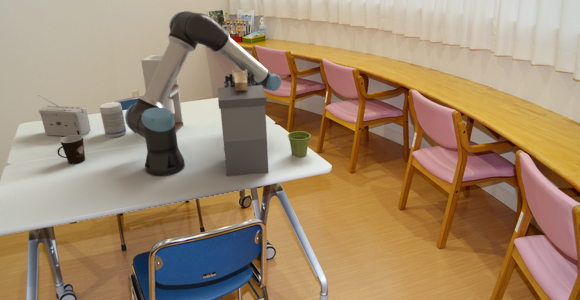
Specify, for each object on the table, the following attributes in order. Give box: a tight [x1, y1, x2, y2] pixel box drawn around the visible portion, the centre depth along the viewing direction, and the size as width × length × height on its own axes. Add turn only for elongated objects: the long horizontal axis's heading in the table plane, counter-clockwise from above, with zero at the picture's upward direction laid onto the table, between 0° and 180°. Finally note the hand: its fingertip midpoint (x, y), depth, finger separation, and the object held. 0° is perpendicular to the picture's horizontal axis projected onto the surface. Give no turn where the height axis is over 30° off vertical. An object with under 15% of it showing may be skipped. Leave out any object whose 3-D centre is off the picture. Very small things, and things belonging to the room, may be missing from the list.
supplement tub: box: [99, 101, 127, 138], centre depth 212 cm, size 10×10×15 cm
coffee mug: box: [57, 135, 86, 165], centre depth 185 cm, size 12×9×10 cm
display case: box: [140, 54, 184, 133], centre depth 213 cm, size 11×11×35 cm
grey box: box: [217, 85, 270, 177], centre depth 173 cm, size 17×17×30 cm
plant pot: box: [287, 131, 311, 158], centre depth 186 cm, size 9×9×9 cm
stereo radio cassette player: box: [37, 95, 91, 137], centre depth 213 cm, size 21×8×20 cm, turn 77°
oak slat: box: [234, 70, 248, 91], centre depth 175 cm, size 4×20×3 cm, turn 8°
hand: (239, 72), depth 177 cm, fingers closed on oak slat, 4 cm apart
